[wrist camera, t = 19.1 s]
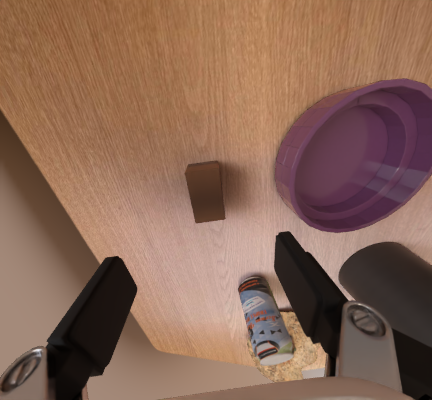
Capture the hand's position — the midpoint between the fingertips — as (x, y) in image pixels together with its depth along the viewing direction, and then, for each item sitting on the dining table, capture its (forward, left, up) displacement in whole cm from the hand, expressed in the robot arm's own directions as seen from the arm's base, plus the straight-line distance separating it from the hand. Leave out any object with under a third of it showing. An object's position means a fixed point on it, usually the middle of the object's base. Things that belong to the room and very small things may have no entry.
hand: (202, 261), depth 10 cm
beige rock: (+37, -19, -15) cm, 45 cm away
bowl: (+12, +14, -15) cm, 24 cm away
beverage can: (+21, -11, -15) cm, 28 cm away
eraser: (+1, 0, -15) cm, 15 cm away
